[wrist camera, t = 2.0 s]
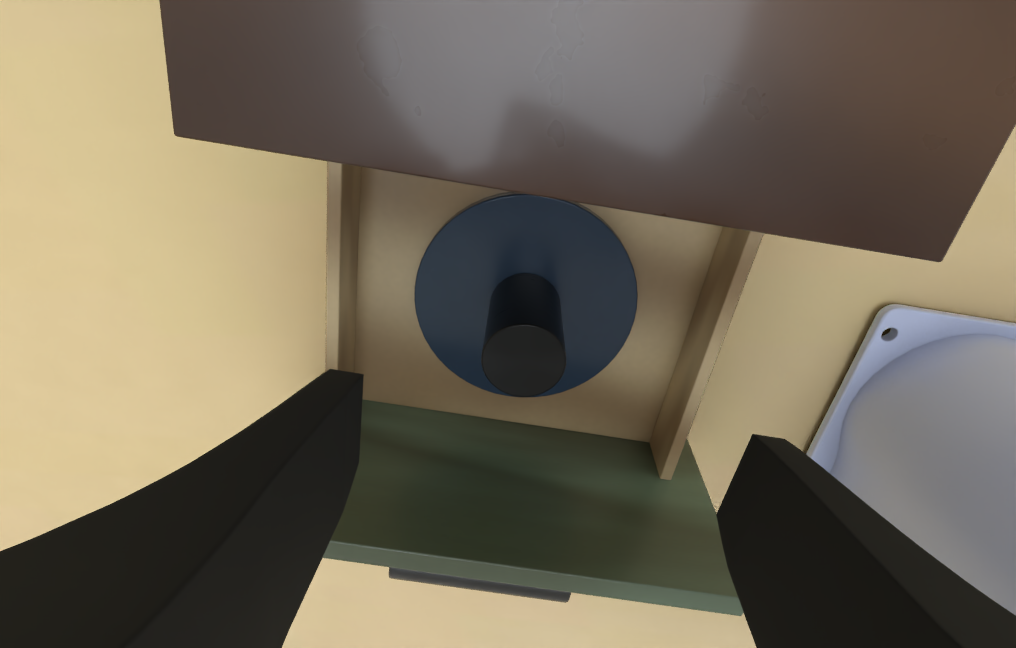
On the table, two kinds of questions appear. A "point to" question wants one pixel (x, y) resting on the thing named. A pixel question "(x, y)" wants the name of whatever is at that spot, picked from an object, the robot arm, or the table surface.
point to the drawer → (529, 417)
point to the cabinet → (628, 102)
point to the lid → (525, 294)
